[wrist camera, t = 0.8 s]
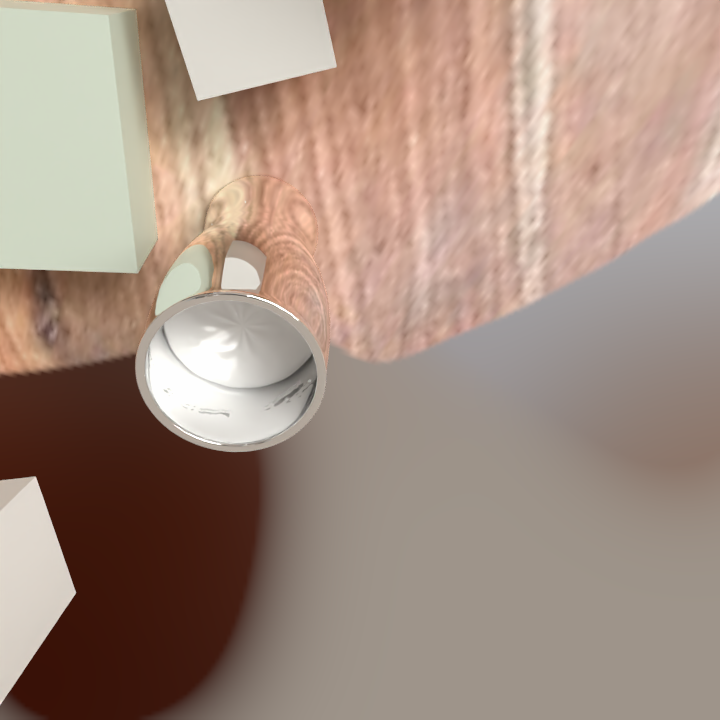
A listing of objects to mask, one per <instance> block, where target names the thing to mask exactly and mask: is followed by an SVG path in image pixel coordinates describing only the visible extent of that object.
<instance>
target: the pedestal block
mask: <svg viewBox="0 0 720 720" xmlns="http://www.w3.org/2000/svg"><path fill="white" fill-rule="evenodd" d="M157 240H158V234H157V224H156V213H155V203H154V192H153V181H152V171H151V160H150V150H149V139H148V129H147V118H146V108H145V97H144V87H143V76H142V66H141V55H140V45H139V34H138V23H137V13H136V9H128V8H114V7H100V6H86V5H72V4H58V3H43V2H29V1H15V0H0V268H6V269H33V270H60V271H87V272H115V273H139V271H140V269H141V267H142V266H143V264H144V262H145V260H146V259H147V257H148V255H149V254H150V252H151V250H152V248H153V247H154V245H155V243H156V241H157Z"/></svg>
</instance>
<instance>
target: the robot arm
mask: <svg viewBox="0 0 720 720" xmlns="http://www.w3.org/2000/svg"><path fill="white" fill-rule="evenodd" d="M75 594H76V591H75V589H74V586H73V583H72V580H71V577H70V574H69V572H68V568H67V566H66V563H65V560H64V557H63V555H62V551H61V548H60V545H59V543H58V539H57V537H56V534H55V531H54V528H53V525H52V523H51V519H50V517H49V514H48V511H47V508H46V505H45V502H44V499H43V496H42V493H41V491H40V488H39V485H38V482H37V479H36V477H28V478H19V479H10V480H2V481H0V704H1V703H2V701H3V700H4V698H5V697H6V696H7V694H8V693H9V691H10V690H11V688H12V687H13V685H14V684H15V682H16V681H17V679H18V678H19V676H20V675H21V673H22V672H23V670H24V669H25V667H26V666H27V665H28V663H29V662H30V660H31V659H32V657H33V656H34V654H35V653H36V651H37V650H38V648H39V647H40V645H41V644H42V642H43V641H44V639H45V638H46V637H47V635H48V634H49V632H50V631H51V629H52V628H53V626H54V625H55V623H56V622H57V620H58V619H59V617H60V616H61V614H62V613H63V611H64V610H65V608H66V607H67V605H68V604H69V603H70V601H71V599H72V598H73V597H74V595H75Z"/></svg>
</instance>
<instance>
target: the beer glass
mask: <svg viewBox="0 0 720 720" xmlns="http://www.w3.org/2000/svg"><path fill="white" fill-rule="evenodd" d="M317 241H318V224H317V220H316V216H315V213H314V211H313V209H312V207H311V205H310V204H309V202H308V201H307V199H306V198H305V197H304V196H303V195H302V194H301V193H300V192H299V191H298V190H297V189H296V188H295V187H293V186H292V185H290V184H288V183H287V182H285V181H283V180H280V179H277V178H274V177H270V176H261V175H256V176H247V177H243V178H240V179H237V180H235V181H233V182H231V183H229V184H228V185H226V186H225V187H223V188H222V189H221V190H220V191H219V192H218V193H217V194H216V195H215V197H214V198H213V200H212V201H211V203H210V205H209V207H208V210H207V213H206V218H205V225H204V232H202V233H201V234H200V235H199V236H198V237H196V238H195V239H194V240H193V241H192V242H191V243H190V244H189V245H188V246H187V247H186V248H185V249H184V250H183V251H182V252H181V253H180V254H179V256H178V257H177V258H176V259H175V261H174V262H173V263H172V265H171V267H170V268H169V270H168V272H167V273H166V275H165V277H164V279H163V280H162V282H161V284H160V286H159V289H158V291H157V293H156V296H155V298H154V301H153V303H152V306H151V309H150V312H149V316H148V319H147V322H146V326H145V330H144V333H143V336H142V338H141V340H140V343H139V345H138V349H137V353H136V360H135V373H136V380H137V384H138V388H139V391H140V393H141V395H142V397H143V400H144V402H145V403H146V405H147V406H148V408H149V409H150V411H151V412H152V413H153V415H154V416H155V417H156V418H157V419H158V420H159V421H160V422H161V423H162V424H163V425H164V426H165V427H167V428H168V429H169V430H170V431H172V432H173V433H175V434H176V435H178V436H179V437H181V438H183V439H185V440H187V441H189V442H192V443H194V444H196V445H199V446H202V447H206V448H209V449H214V450H220V451H228V452H245V451H253V450H259V449H264V448H267V447H270V446H273V445H276V444H278V443H280V442H283V441H285V440H287V439H288V438H290V437H291V436H293V435H294V434H296V433H297V432H299V431H300V430H301V429H302V428H303V427H304V426H305V425H306V424H307V423H308V422H309V421H310V420H311V419H312V417H313V416H314V414H315V413H316V411H317V410H318V408H319V406H320V404H321V402H322V399H323V396H324V393H325V388H326V379H327V374H326V370H327V363H328V355H329V346H330V312H329V303H328V296H327V291H326V288H325V285H324V282H323V279H322V276H321V273H320V270H319V268H318V266H317V264H316V261H315V259H314V257H313V255H314V253H315V250H316V246H317Z"/></svg>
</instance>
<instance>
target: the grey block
mask: <svg viewBox="0 0 720 720" xmlns="http://www.w3.org/2000/svg"><path fill="white" fill-rule="evenodd" d="M165 2H166V5H167V8H168V12H169V15H170V18H171V21H172V24H173V27H174V30H175V33H176V36H177V39H178V42H179V45H180V48H181V51H182V54H183V58H184V61H185V64H186V67H187V70H188V73H189V76H190V79H191V82H192V85H193V88H194V91H195V94H196V97H197V100H198V101H200V100H204V99H208V98H212V97H216V96H220V95H224V94H228V93H233V92H237V91H241V90H245V89H249V88H253V87H257V86H261V85H265V84H269V83H274V82H278V81H282V80H286V79H290V78H294V77H298V76H302V75H306V74H311V73H315V72H319V71H323V70H327V69H331V68H335V67H337V65H336V60H335V56H334V51H333V47H332V42H331V37H330V33H329V28H328V23H327V19H326V14H325V9H324V5H323V0H165Z"/></svg>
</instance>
